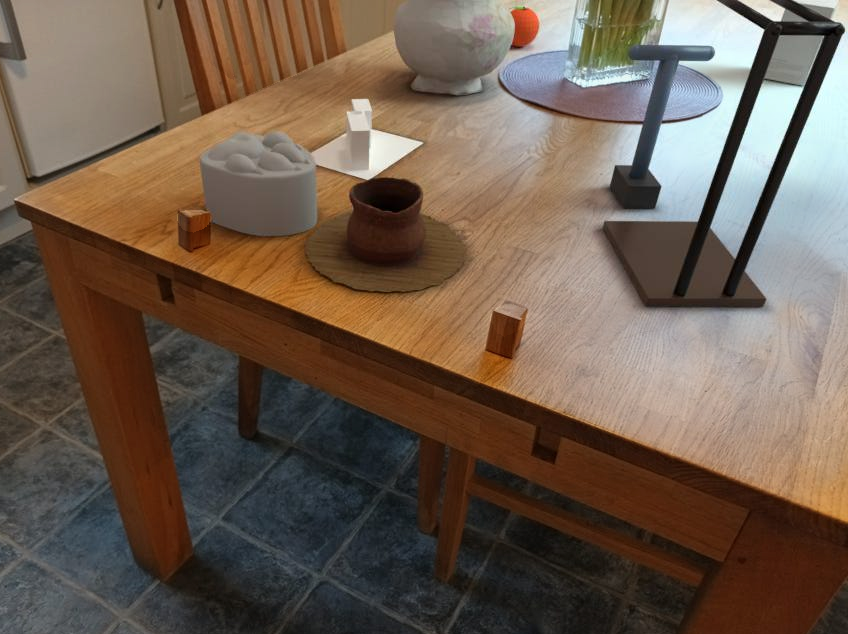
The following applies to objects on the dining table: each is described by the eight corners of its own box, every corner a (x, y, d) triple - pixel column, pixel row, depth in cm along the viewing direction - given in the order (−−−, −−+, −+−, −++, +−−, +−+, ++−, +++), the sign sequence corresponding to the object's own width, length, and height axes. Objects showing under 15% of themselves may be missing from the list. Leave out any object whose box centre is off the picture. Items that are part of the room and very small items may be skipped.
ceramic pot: (396, 315, 70) (400, 252, 66) (271, 251, 79) (266, 192, 74) (496, 245, 81) (505, 188, 76) (376, 196, 89) (378, 142, 85)
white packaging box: (803, 86, 125) (835, 8, 117) (758, 78, 128) (786, 1, 120) (810, 75, 130) (840, -1, 122) (766, 67, 133) (793, -8, 125)
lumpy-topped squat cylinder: (247, 184, 91) (240, 117, 86) (335, 208, 87) (335, 139, 81) (195, 218, 84) (184, 147, 79) (289, 246, 80) (285, 173, 74)
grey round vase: (426, 63, 134) (426, -93, 119) (528, 71, 127) (542, -94, 112) (377, 100, 119) (369, -74, 104) (490, 111, 112) (499, -74, 97)
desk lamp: (600, 224, 85) (662, -25, 68) (699, 225, 85) (786, -23, 69) (645, 306, 72) (737, 24, 55) (763, 306, 72) (889, 26, 56)
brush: (588, 186, 93) (622, 37, 81) (661, 187, 93) (705, 38, 82) (600, 208, 88) (639, 53, 77) (677, 208, 88) (727, 54, 77)
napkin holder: (370, 180, 93) (370, 137, 89) (298, 160, 97) (296, 118, 94) (424, 142, 103) (427, 102, 99) (357, 125, 107) (358, 86, 104)
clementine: (489, 45, 141) (493, 5, 136) (507, 37, 145) (513, -1, 140) (524, 53, 137) (530, 13, 132) (542, 46, 141) (549, 6, 136)
